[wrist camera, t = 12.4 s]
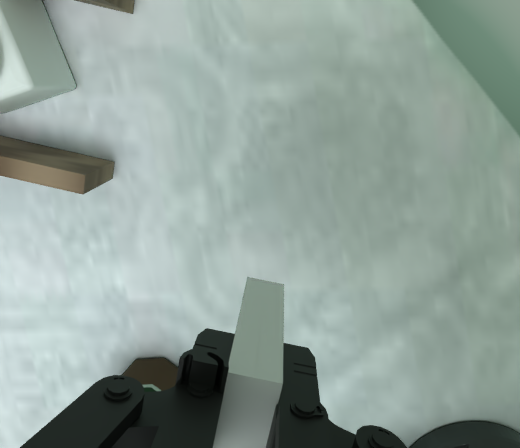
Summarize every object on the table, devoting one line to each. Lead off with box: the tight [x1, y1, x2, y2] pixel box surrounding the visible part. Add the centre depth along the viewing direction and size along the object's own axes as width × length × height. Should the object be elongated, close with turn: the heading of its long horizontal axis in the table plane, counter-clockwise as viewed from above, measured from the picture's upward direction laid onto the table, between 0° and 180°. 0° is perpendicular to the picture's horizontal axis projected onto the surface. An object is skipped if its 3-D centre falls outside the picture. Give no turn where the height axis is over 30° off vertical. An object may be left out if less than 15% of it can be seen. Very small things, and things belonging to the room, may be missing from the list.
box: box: [0, 0, 134, 194], centre depth 34 cm, size 15×15×6 cm
